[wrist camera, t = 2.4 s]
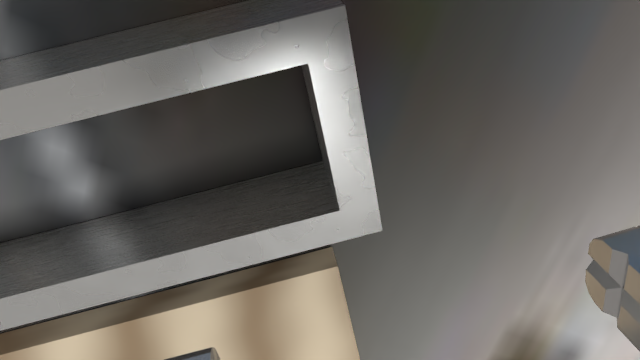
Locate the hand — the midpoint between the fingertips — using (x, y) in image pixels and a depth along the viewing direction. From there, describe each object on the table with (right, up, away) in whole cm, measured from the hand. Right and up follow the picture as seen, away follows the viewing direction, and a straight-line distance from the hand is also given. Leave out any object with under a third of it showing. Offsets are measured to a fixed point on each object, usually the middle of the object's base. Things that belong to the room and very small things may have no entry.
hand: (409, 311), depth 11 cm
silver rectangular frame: (-10, +4, +10) cm, 15 cm away
